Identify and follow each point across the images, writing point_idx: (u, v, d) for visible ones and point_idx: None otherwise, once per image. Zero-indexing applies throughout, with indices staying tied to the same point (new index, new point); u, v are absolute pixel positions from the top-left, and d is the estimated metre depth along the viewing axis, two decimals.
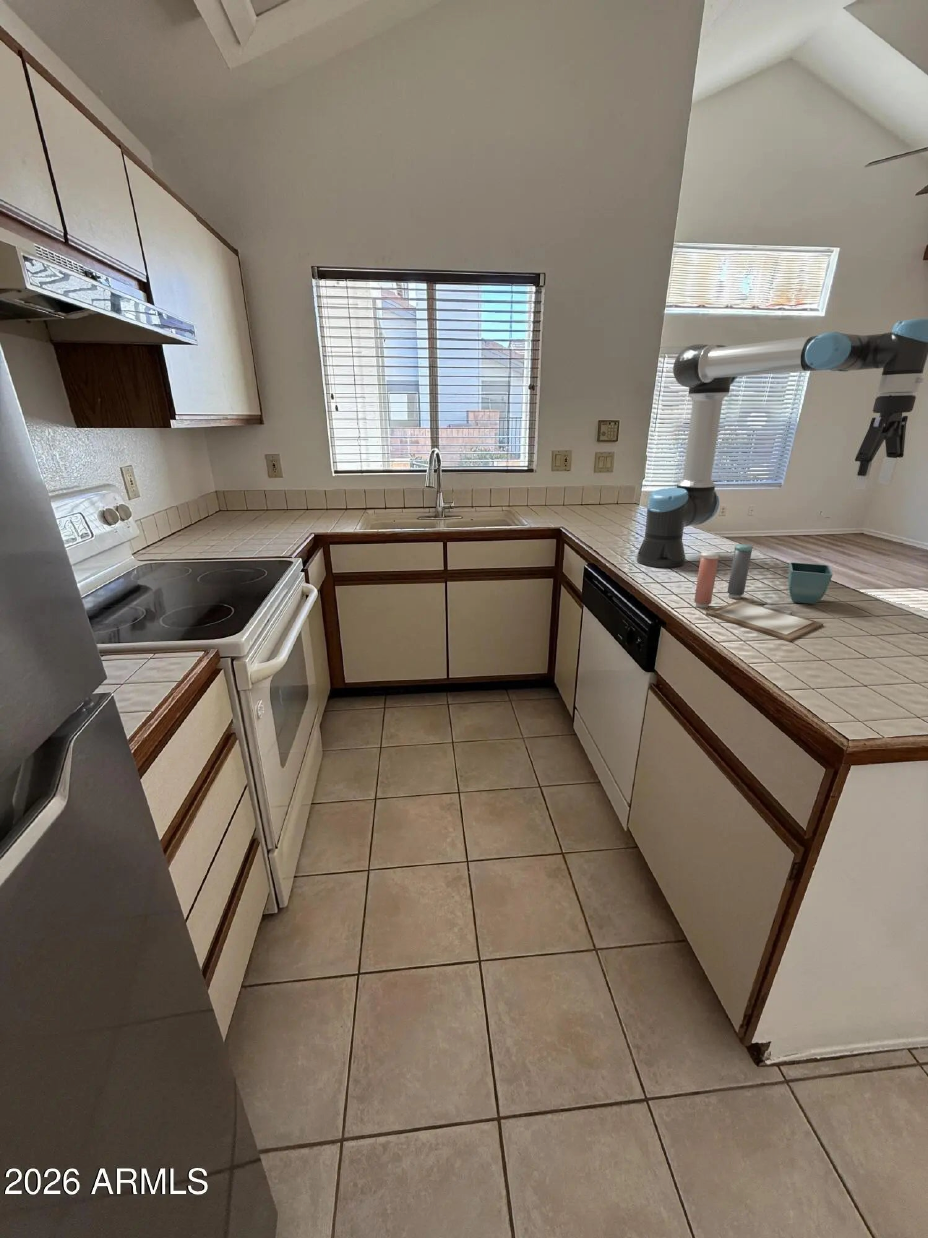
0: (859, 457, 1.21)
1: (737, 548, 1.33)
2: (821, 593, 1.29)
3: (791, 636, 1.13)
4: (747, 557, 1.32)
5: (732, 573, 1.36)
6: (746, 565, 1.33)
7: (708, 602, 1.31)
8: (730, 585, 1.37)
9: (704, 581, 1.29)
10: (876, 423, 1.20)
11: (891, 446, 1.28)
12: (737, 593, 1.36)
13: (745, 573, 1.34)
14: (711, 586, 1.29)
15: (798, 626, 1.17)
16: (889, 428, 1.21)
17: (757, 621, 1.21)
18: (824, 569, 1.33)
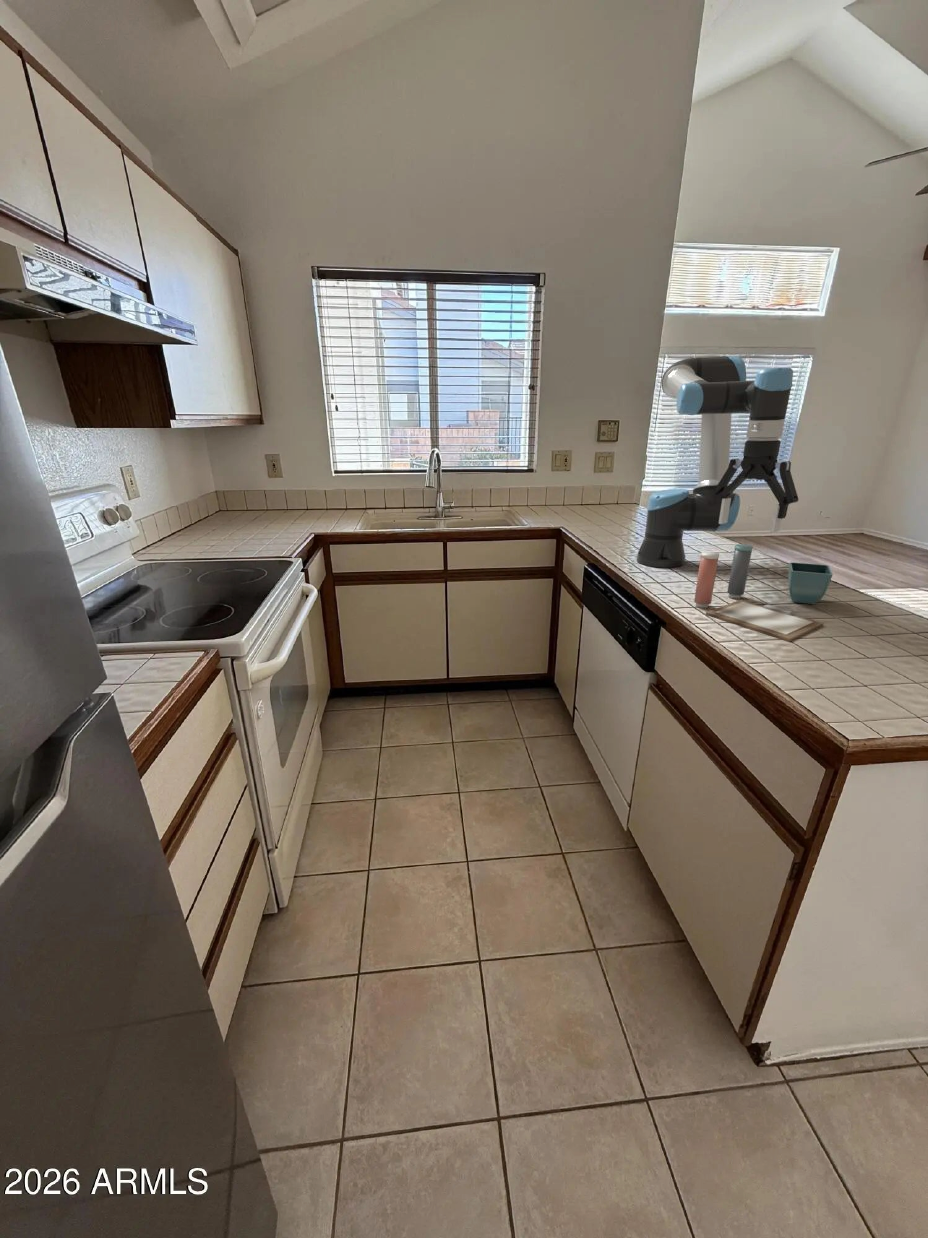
0: None
1: (737, 548, 1.33)
2: (821, 593, 1.29)
3: (791, 636, 1.13)
4: (747, 557, 1.32)
5: (732, 573, 1.36)
6: (746, 565, 1.33)
7: (708, 602, 1.31)
8: (730, 585, 1.37)
9: (704, 581, 1.29)
10: None
11: None
12: (737, 593, 1.36)
13: (745, 573, 1.34)
14: (711, 586, 1.29)
15: (798, 626, 1.17)
16: None
17: (757, 621, 1.21)
18: (824, 569, 1.33)
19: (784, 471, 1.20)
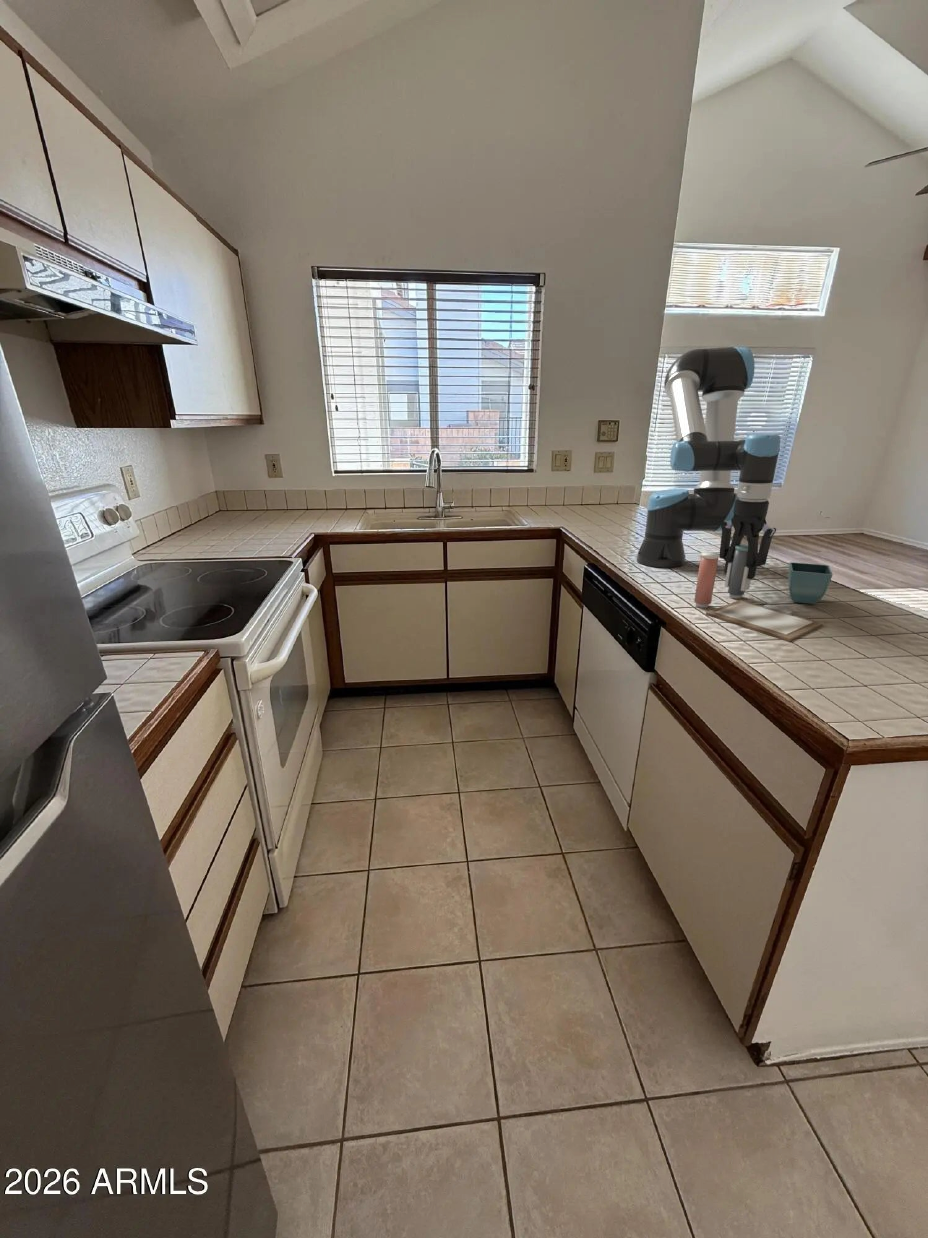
0: None
1: (737, 548, 1.33)
2: (821, 593, 1.29)
3: (791, 636, 1.13)
4: (747, 557, 1.32)
5: (733, 573, 1.35)
6: (746, 565, 1.33)
7: (708, 602, 1.31)
8: (731, 585, 1.37)
9: (704, 581, 1.29)
10: None
11: None
12: (738, 593, 1.36)
13: None
14: (711, 586, 1.29)
15: (798, 626, 1.17)
16: None
17: (757, 621, 1.21)
18: (824, 570, 1.33)
19: (766, 537, 1.27)
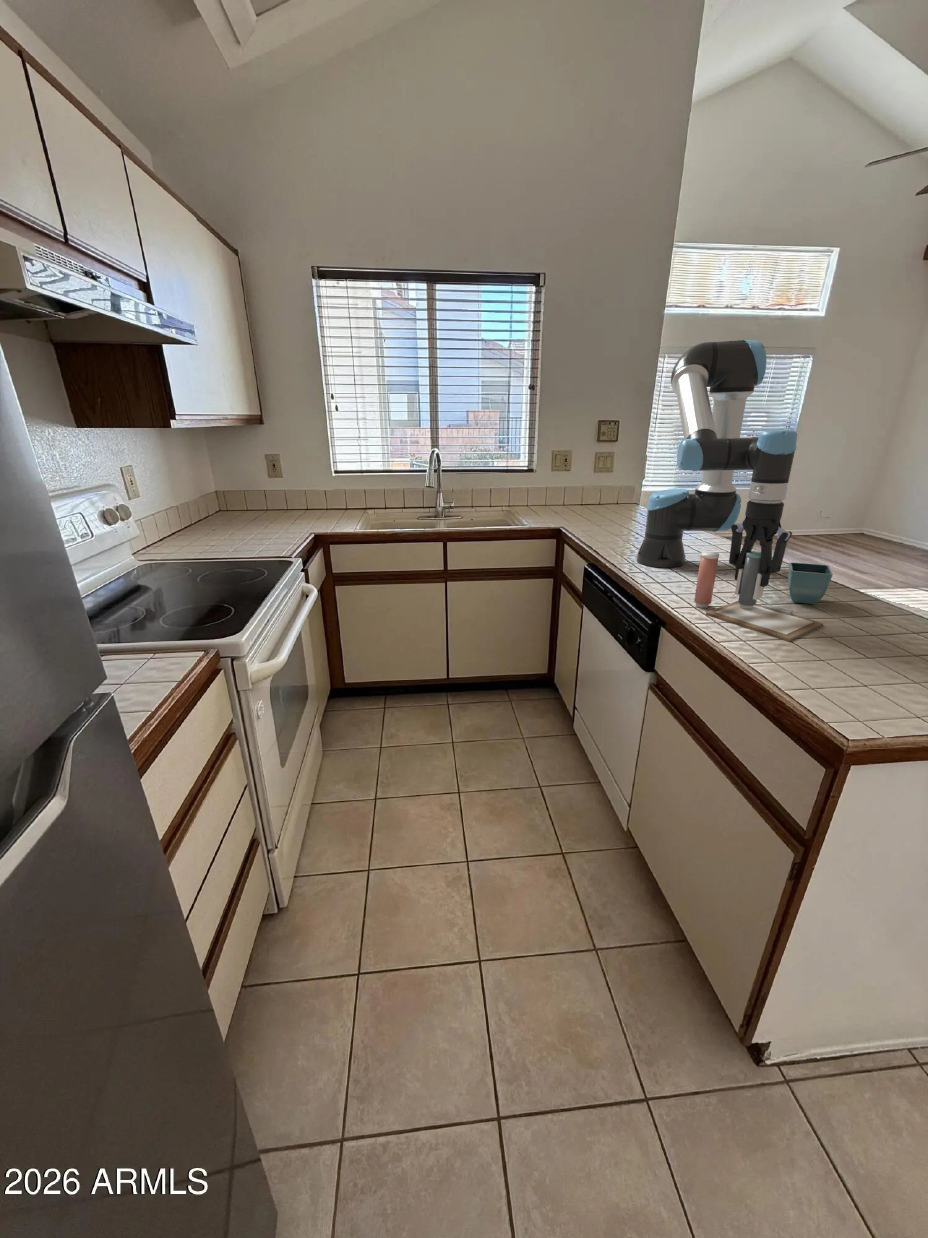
0: None
1: (749, 555, 1.23)
2: (821, 593, 1.29)
3: (791, 636, 1.13)
4: (760, 565, 1.23)
5: (743, 582, 1.26)
6: None
7: (708, 602, 1.31)
8: (741, 595, 1.27)
9: (704, 581, 1.29)
10: None
11: None
12: (749, 603, 1.27)
13: None
14: (711, 586, 1.29)
15: (798, 626, 1.17)
16: None
17: (757, 621, 1.21)
18: (824, 570, 1.33)
19: (781, 542, 1.17)
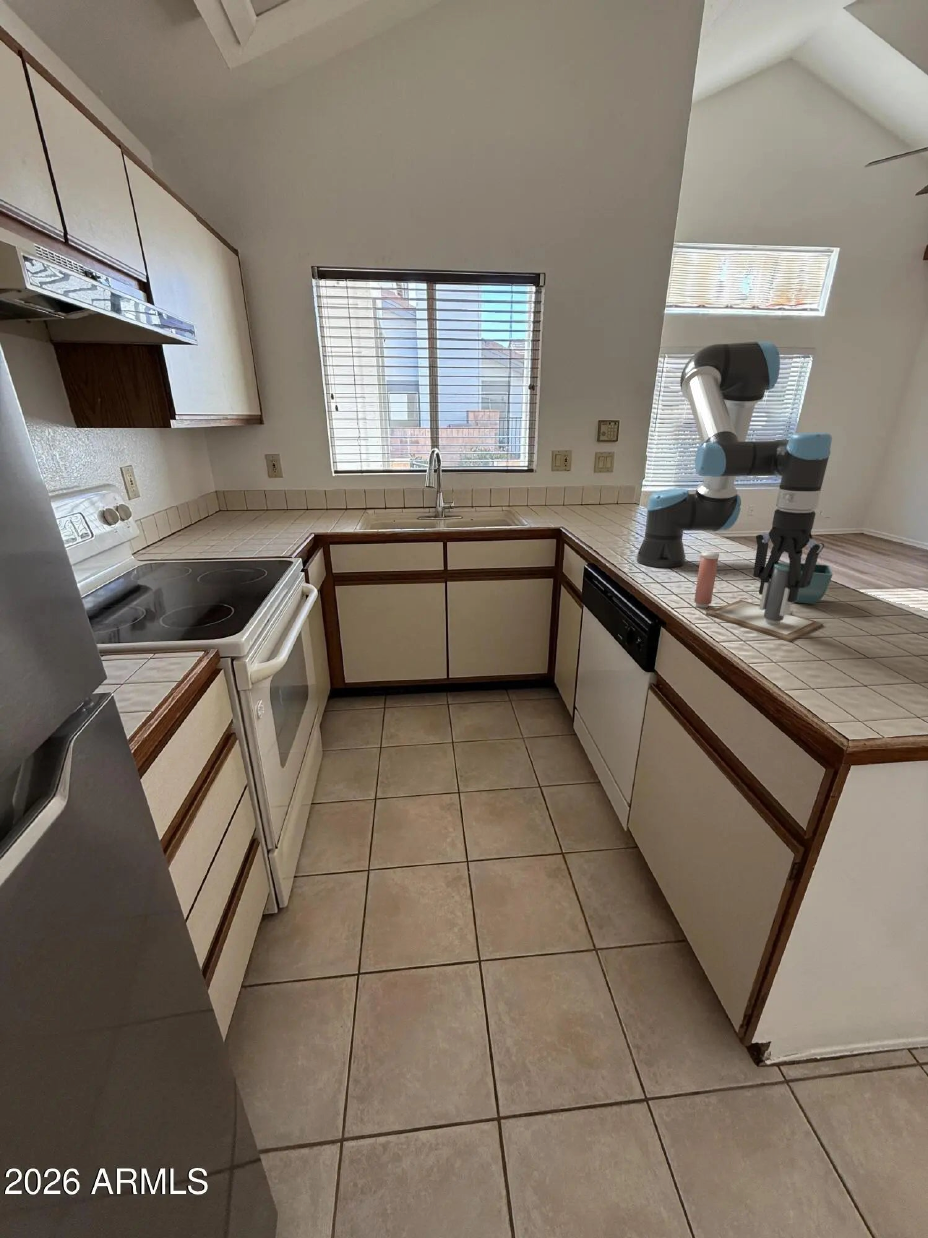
0: None
1: (776, 567, 1.14)
2: (821, 593, 1.29)
3: (791, 636, 1.13)
4: (788, 578, 1.14)
5: (770, 596, 1.17)
6: None
7: (708, 602, 1.31)
8: (767, 609, 1.18)
9: (704, 581, 1.29)
10: None
11: None
12: (775, 618, 1.17)
13: None
14: (711, 586, 1.29)
15: (798, 626, 1.17)
16: None
17: (757, 621, 1.21)
18: (824, 569, 1.33)
19: (812, 555, 1.08)
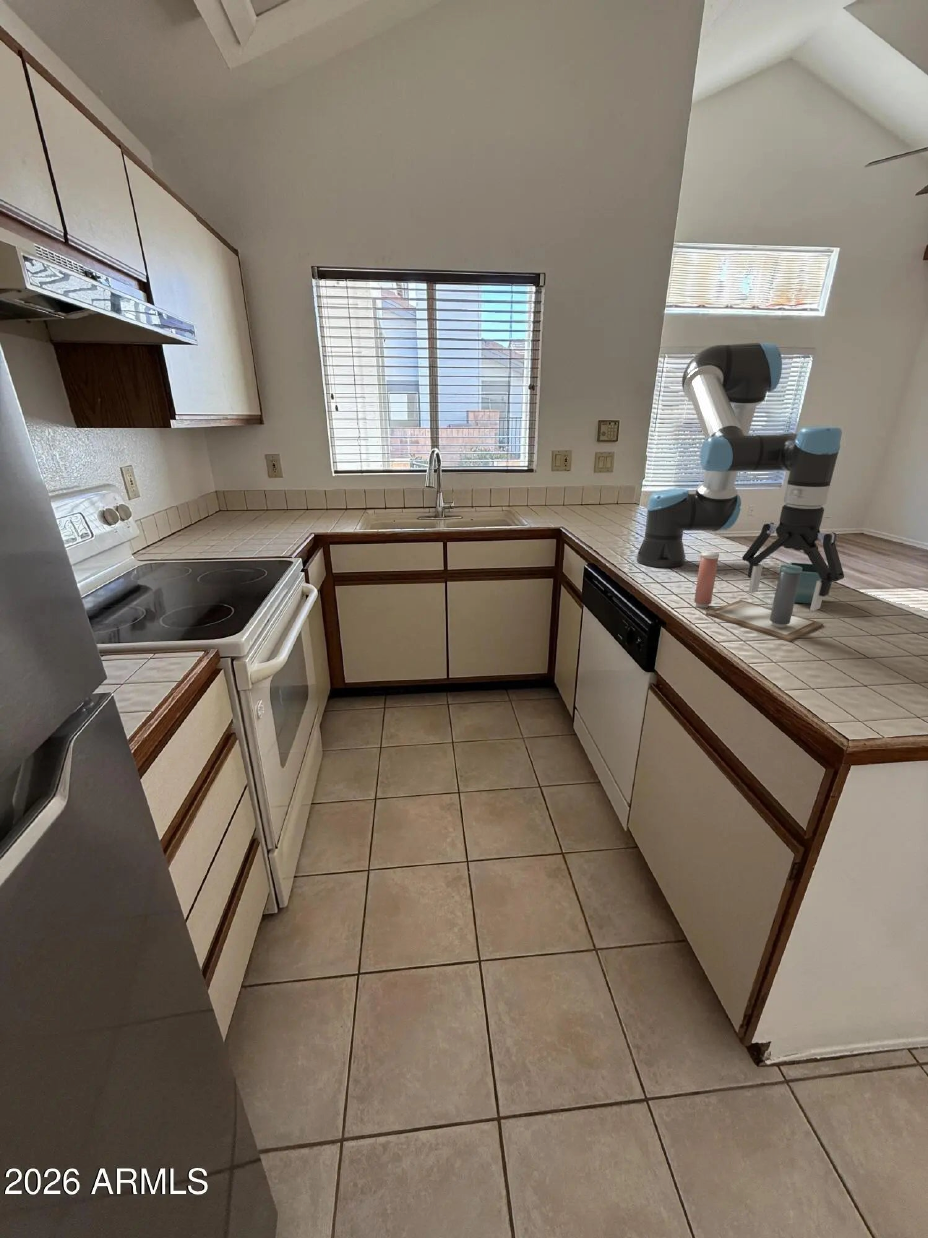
0: None
1: (783, 569, 1.12)
2: None
3: (791, 636, 1.13)
4: (795, 581, 1.12)
5: (776, 598, 1.15)
6: (793, 590, 1.13)
7: (708, 602, 1.31)
8: (773, 612, 1.16)
9: (704, 581, 1.29)
10: None
11: None
12: (781, 622, 1.16)
13: (792, 599, 1.13)
14: (711, 586, 1.29)
15: (798, 626, 1.17)
16: (778, 538, 1.12)
17: (757, 621, 1.21)
18: None
19: (828, 545, 1.04)
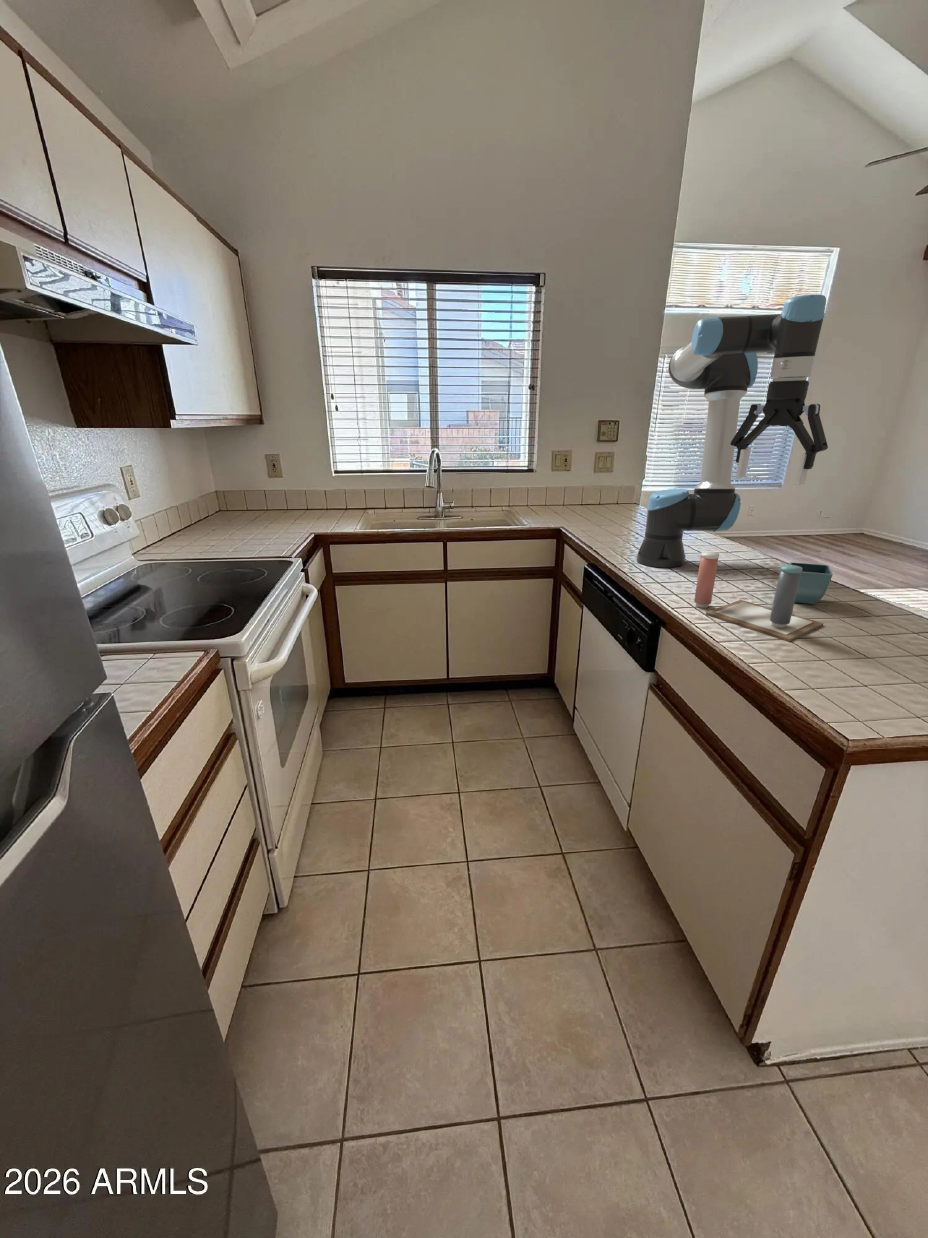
0: None
1: (783, 569, 1.12)
2: (821, 593, 1.29)
3: (791, 636, 1.13)
4: (795, 581, 1.12)
5: (776, 598, 1.15)
6: (793, 590, 1.12)
7: (708, 602, 1.31)
8: (773, 612, 1.16)
9: (704, 581, 1.29)
10: None
11: None
12: (781, 622, 1.16)
13: (792, 599, 1.13)
14: (711, 586, 1.29)
15: (798, 626, 1.17)
16: None
17: (757, 621, 1.21)
18: (824, 570, 1.33)
19: (813, 415, 1.07)
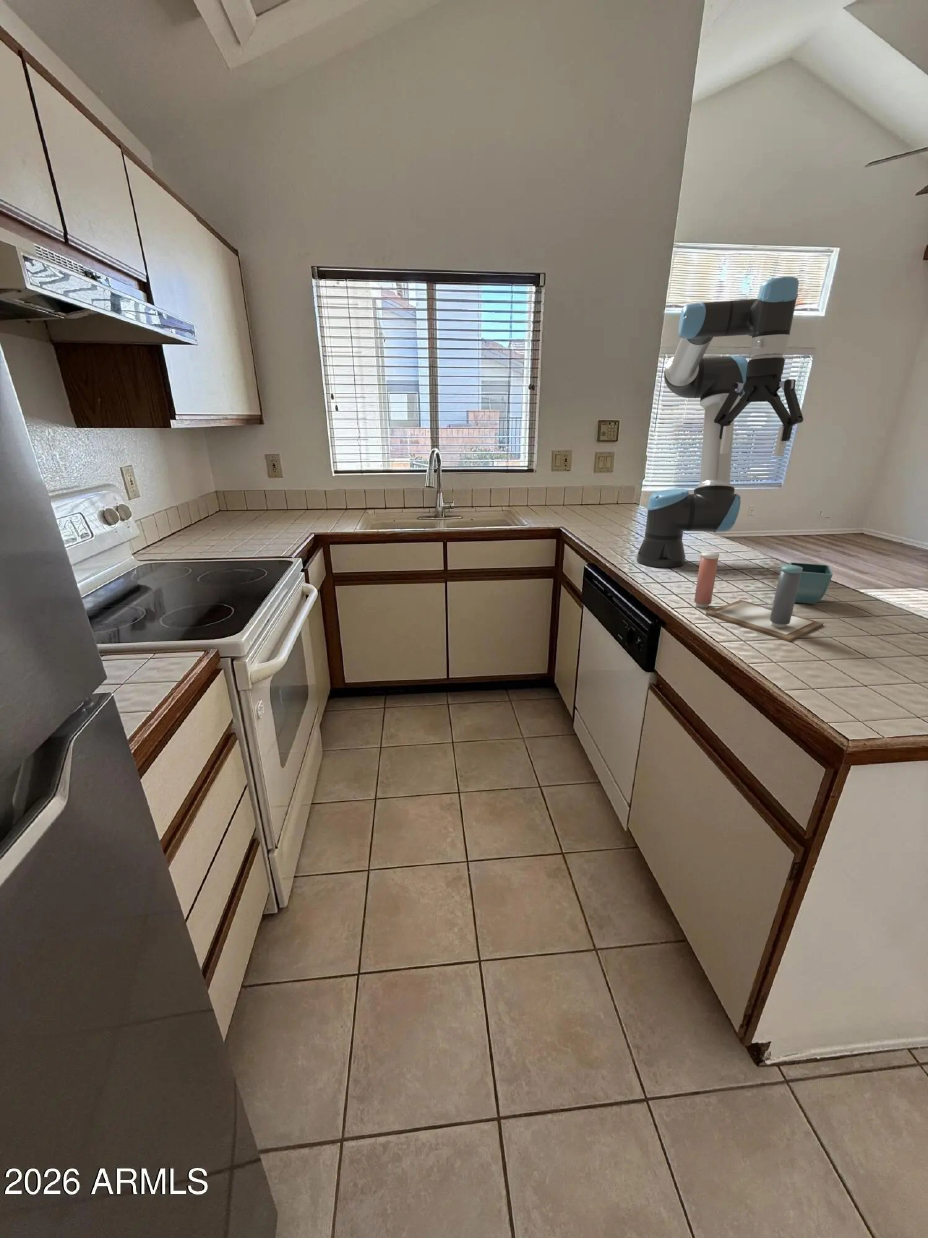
0: None
1: (783, 569, 1.12)
2: (821, 593, 1.29)
3: (791, 636, 1.13)
4: (795, 581, 1.12)
5: (776, 598, 1.15)
6: (793, 590, 1.12)
7: (708, 602, 1.31)
8: (773, 612, 1.16)
9: (704, 581, 1.29)
10: None
11: None
12: (781, 622, 1.16)
13: (792, 599, 1.13)
14: (711, 586, 1.29)
15: (798, 626, 1.17)
16: None
17: (757, 621, 1.21)
18: (824, 569, 1.33)
19: (788, 389, 1.14)
